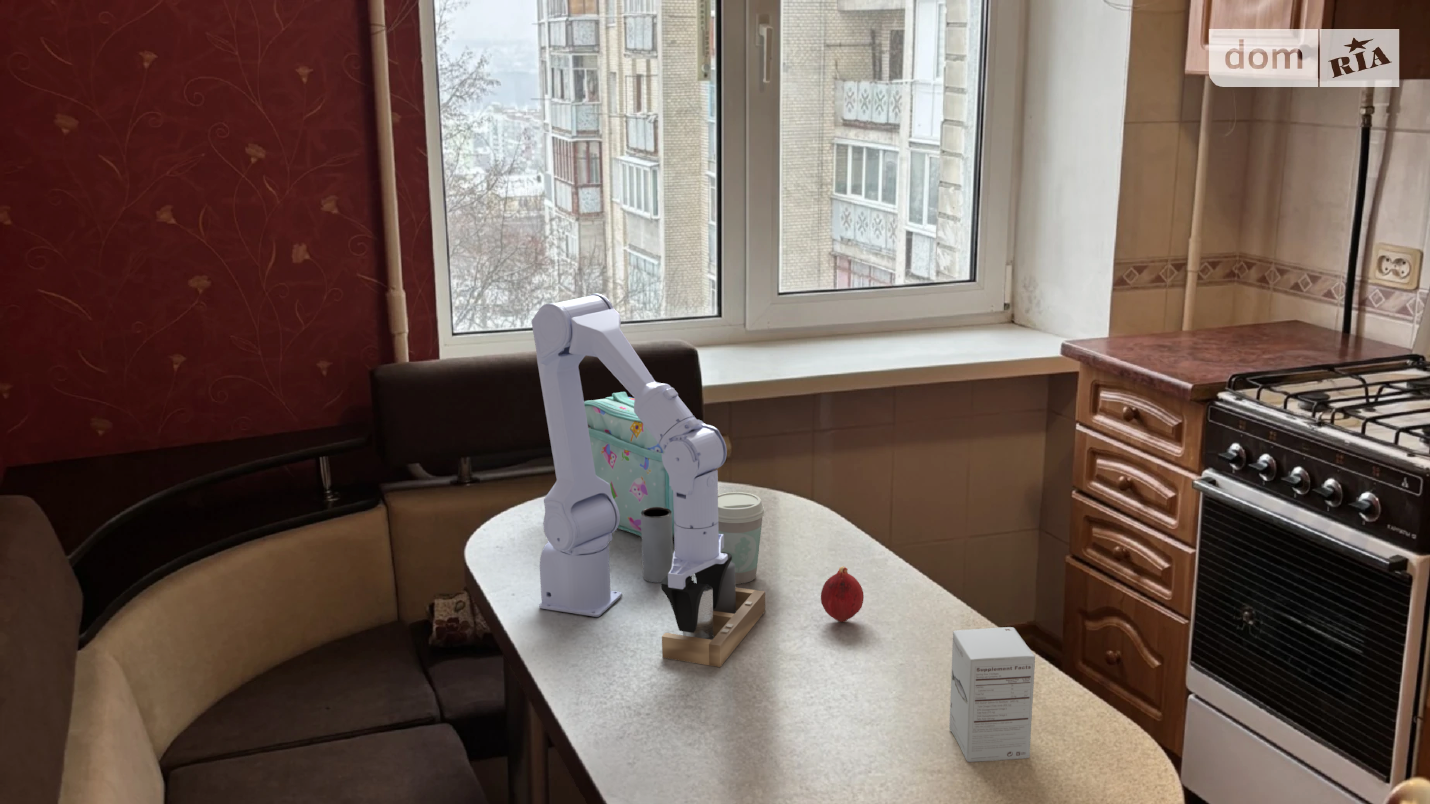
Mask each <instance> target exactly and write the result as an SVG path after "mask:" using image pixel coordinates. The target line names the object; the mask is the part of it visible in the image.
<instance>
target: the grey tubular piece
mask: <svg viewBox="0 0 1430 804" xmlns="http://www.w3.org/2000/svg"><path fill="white" fill-rule="evenodd" d="M641 534H642V537H641V554H642V555H641V557H642V559H641V561H642V577H643V579H644V580H645V581H647V582H650V583H661V581H662V580H663V579H664V578H665V577H666V576H668V573H669V572H670V570H671V567H672V559H673V553H674V549H673V537H672V512H671V510H670V509H668V508H664V507H651V508H647V509H644V510H643V511H642V512H641Z"/></svg>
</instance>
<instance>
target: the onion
mask: <svg viewBox="0 0 1430 804" xmlns="http://www.w3.org/2000/svg"><path fill="white" fill-rule="evenodd" d="M848 569H849V568H847V567H846V566H844V565H842V566H840V567H839V569H838V571H837V572H836V573H835V574H833V575H831V576H830V577H828V578H827V579H826V581H825V582H824V584H823V586H822V589H821V593H820V602H821V605H822V607H823V609H824V611H825V613H827V614H828V616H830V617H831V618H832V619H834V620H836V621H838V622H839V623H845V622H847V621H849V620H850V619H852V618H853V617H854V616H855V615H857V614H858V613H859V612H860V611H861V609H862V608H863V604H864V591H863V590H864V589H863V587H862V585H861V583H860V582H859V581H858V580H857V578H855V577H854V575H852V574H850V573H849V572H848V571H849V570H848Z"/></svg>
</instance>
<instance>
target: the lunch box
mask: <svg viewBox="0 0 1430 804" xmlns="http://www.w3.org/2000/svg"><path fill="white" fill-rule="evenodd" d="M634 400H635V398H634V397H631V396H628V394H627V392H626V391H620V392H613V393H611V396H607V397H605V398H600V399H593V400H592V399H591V400H589V399H588V400H584V405H585V411H586V418H587V424H588V430H589V436H590V443H591V449H592V455H593V462H594V468H595V474H596V476H598V477H599V478H601V479H602V480H604V481H606V482H607V483H609V484H610V487H611V493H612V496H613V499H614V501H615V502H616V504H617V507H618V510H619V514H620V522H619V526H618V528H617V530H618V529H619V530H620V531H621V530H622V531H624V532H628V533H630V534H633V535H636V536H638V537H641V538H642V534H641V512H642V511H643V510H644V509H647V508H651V507H664V508H668V509H670V510H671V512H672V538H674V507H673V490H672V489H671V486H670V481H669V475H668V473H667V471H666V469H665V467H664V465H663V462H662V454H664V452H665V451H664V450H663V449H662V448H661V446H660V445H659V444H658V442H657V441H656V440H655V438H654V437H653V436H652V435H651V433H650V432H649V431H648V429H647V428H646V427H645V425H644V424H643V423H642V422H641V420H640V419H639V418H638V416H637V415H636V414H635V412H634Z"/></svg>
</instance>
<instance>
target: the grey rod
mask: <svg viewBox="0 0 1430 804" xmlns="http://www.w3.org/2000/svg"><path fill="white" fill-rule="evenodd" d="M682 635H684V636H691V637H697V638H703V639H710V640H713V638H714V637H715V636H714V635H713V589H712V587H711V586H709V585H706V587H705V589H704V591H703V594H702V597H701V600H700V605H699V611H698V622H697V627H696V630H695V632H694V633H690V632H684V631H682Z"/></svg>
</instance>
